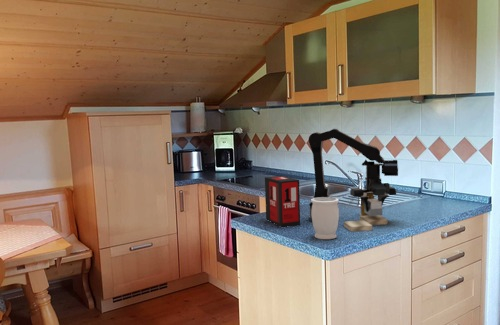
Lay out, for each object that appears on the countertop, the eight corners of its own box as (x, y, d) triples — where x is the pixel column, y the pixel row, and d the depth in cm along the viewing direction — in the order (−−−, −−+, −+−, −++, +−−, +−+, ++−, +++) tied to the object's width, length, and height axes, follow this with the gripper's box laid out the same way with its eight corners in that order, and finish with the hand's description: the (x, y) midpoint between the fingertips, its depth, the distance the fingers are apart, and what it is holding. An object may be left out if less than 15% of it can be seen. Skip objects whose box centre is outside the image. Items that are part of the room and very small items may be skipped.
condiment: (358, 214, 210) (357, 189, 208) (375, 213, 210) (375, 188, 209) (363, 217, 202) (363, 191, 201) (381, 216, 203) (381, 190, 202)
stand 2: (367, 225, 188) (367, 220, 188) (359, 220, 197) (359, 216, 197) (387, 224, 189) (387, 219, 189) (379, 219, 198) (379, 214, 197)
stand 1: (350, 231, 179) (350, 226, 179) (343, 226, 188) (343, 221, 188) (372, 230, 180) (372, 225, 180) (364, 224, 189) (364, 220, 189)
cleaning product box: (300, 225, 192) (299, 179, 190) (281, 227, 189) (280, 181, 187) (283, 217, 207) (282, 175, 205) (266, 220, 204) (264, 177, 202)
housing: (370, 216, 188) (370, 202, 188) (364, 212, 196) (364, 199, 195) (382, 215, 189) (382, 201, 188) (375, 211, 196) (375, 198, 196)
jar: (309, 239, 170) (308, 201, 168) (315, 232, 179) (314, 196, 178) (336, 241, 166) (336, 202, 164) (341, 234, 176) (340, 197, 174)
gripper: (358, 179, 182) (359, 216, 183) (402, 177, 184) (401, 214, 185) (349, 175, 193) (350, 210, 194) (390, 173, 195) (390, 208, 196)
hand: (373, 211), depth 192 cm, fingers closed on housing, 5 cm apart
